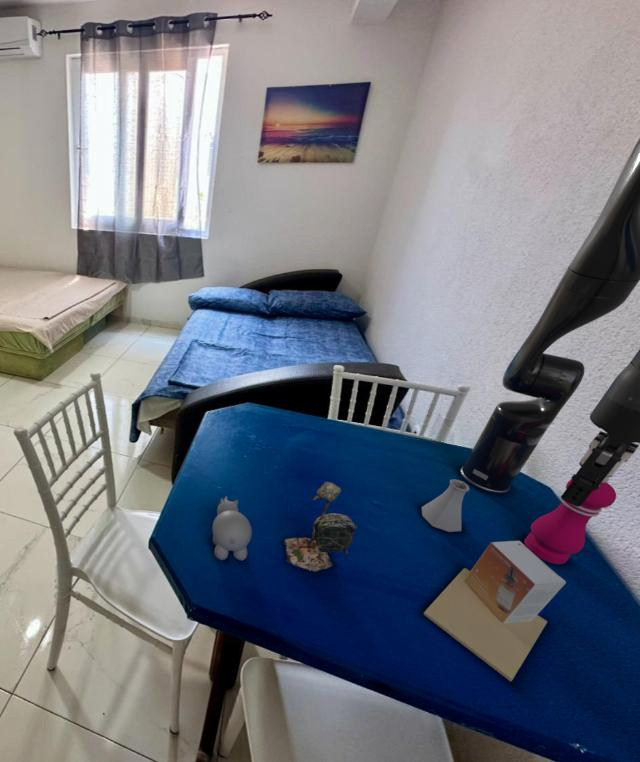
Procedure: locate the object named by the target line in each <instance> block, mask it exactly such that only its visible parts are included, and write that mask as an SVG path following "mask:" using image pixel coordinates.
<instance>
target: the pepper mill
mask: <svg viewBox="0 0 640 762" xmlns="http://www.w3.org/2000/svg"><path fill="white" fill-rule="evenodd" d="M572 479H573V478H570V479H569V480H568V481H567V483H566V484H565V490H566V489H567V488H568V486H569V485H570V484H571V482H572V481H571V480H572ZM609 481H610V477H605V478H604V480H603V481H602V482H601V484H600V485H601V486H600V487H599V489H598V490H597V489H596V490H595V491H592V493H591V494H590V495H589V496H588V498H587V499H586V500H585V502H584V503H583V504H582V505H581V506H579V507H578V506H575V505H572V504H570V503H568V502H566V501H564V500H562V498H561V497H560V502H561V503H560V504H559V505H558V506H557V508H555V509H554V510H553V511H551V512H549V513H546V514H544V515H542V516H539V517H538V518H537V519H535V520H534V521H533V522H532V523H531V525H530V533H528V535H527V536H526V538H525V539H524V541H523V544H524V545H525V546H526V547H527V548H528V549H529V550H530V551H531V552H532V553H533V554H534V555H536V556H537V557H538V558H539V559H540V560H542V561H545V562H547V563H550V564H554V565H563V564H565V563H567V561H568V560H569V559H570V558H571V555H573V554H577V553H579V552H581V550H582V549H583V548H584V546H585V543H586V528H587V524H588V523H589V521H590V519H591V518H592V517H598V516H599V514H600V513H601V512H602V511H603V509H604V508H605V509H606V508H609V507H611V506H612V505H613V504H614V503H615V501H616V499H617V493H616V490H615V488H614V487H613V486H612V485H611V484H609V483H608V482H609Z"/></svg>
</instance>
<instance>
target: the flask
mask: <svg viewBox="0 0 640 762" xmlns="http://www.w3.org/2000/svg"><path fill="white" fill-rule="evenodd" d="M469 491H470V486H469V485H468V484H467V482H465V481H462V480H459V479H456V478H455V479H450V480H449V486H448V487H447V488H446V490H445V491H443V493H441V494H440V495H438V496H437V497H436V498H434V499H433V500H431V501H429V502H427V503H425V504H424V505H423V506H421V515H422V517H423V518H424V519H425V521H426V522H428V523H429V524H430V525H431V526H432V527H434V528H437V529H440V530H442V531H444V532H445V531H446V532H447V533H453V532H454V533H455V532H462V509H463V508H462V507H463V506H462V505H463V500H464V497H465V494H466V493H468V492H469Z"/></svg>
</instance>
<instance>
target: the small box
mask: <svg viewBox="0 0 640 762" xmlns="http://www.w3.org/2000/svg"><path fill="white" fill-rule="evenodd" d="M469 571H470V573H469V574H468V575H467V577H466V578H465V580H464V581H465V582H466V583H467V584H468V585H469V586H470V587H471V588H472V589H473V591H474V592H475V593H476V594H477V595H478V596H479V597H480V598H481V600H482V601H483V602H484V603H485V604H486V605H487V606H488V608H489V609H490V610H491V611H492V612H493V613H494V614H495V615H496V617H497V618H498V619H499V621H500V622H501V623H514V622H526V621H532V620H533V619H534V618H535V617H536V616H537V615H538V616H539V614H540V613H541V612H542V611H543V610H544V608H545V607H546V606H547V605H548V604H549V603H550V602H551V600H552V599H554V597H555V596H556V595H557V593H559V591H561V589H562V588H563V587H564V586H565V585H566V583H567V581H566V580H565V579H563V578H562V577H561V576H560V575H558V573H556V572H555V571H554V569H551V567H549V566H548V565H547V564H546V563H545V562H544V561H543V560H542V559H541V558H539V557H537V556H536V555H534V554H533V553H532V552H531V551H530V550H529V549H528V548H527V547H526V545H525V543H524V542H523V543H522V541H520V540H508V541H494V542H493V541H491V542H490V543H489V545H488V546H487V548H486V549H485V550H484V551H483V553H482V554H481V556H480V557H479V559H478V560H477V561H476V563H475V564H474V565H473V567H472V568H471V569H470V570H469Z"/></svg>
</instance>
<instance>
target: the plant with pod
mask: <svg viewBox="0 0 640 762" xmlns="http://www.w3.org/2000/svg"><path fill="white" fill-rule="evenodd" d="M341 492H342V489H341V487H339V486H337V485H336V484H335V483H334V482H331V481H324V482H323V484H322V485H321V486H320V487H319V488H318V489H317V490H316V494H317V495H315V496H314V497H313V498H312V500H313V501H315V500H317V499H323V500H325V504H324V508H323V511H322V513H321V516H320V515H319V517H317V518H316V519H315V521H314V522H313V525H312V526H313V528H312V530H313V531H312V532H311V535H312V536H311V538H309V537H300V536H299V537H296V536H294V537H293V538H292V537H290V538H285V540H284V541H283V544H284V545H285V547H284V548H285V550H286V551H285V554H286V562H287V563H289V564H290V565H292V566H295V567H298V568H301V569H305V570H309V571H310V572H311V571H312V573H315V572H319V571H322V570H328V569H329V568H332V567H334V564H333V562H332V561H331V558H330V557H329V555H328V554H329V553H340V552H342V551H343V552H344V553H345V554H349V553H348V552H349V551H348V550H347V549H348V548H349V547H350V546H351V544H353V539H354V534H355V533H356V528H358V525H356V524H355V523H354V521H353V520H352V518H351V517H350V516H348V515H345V514H340V513H335V512H332V513H327V509H328V507H329V505H330V503H332V502H334V501H336V500H337V499H338V497H339V496H340V494H341Z"/></svg>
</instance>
